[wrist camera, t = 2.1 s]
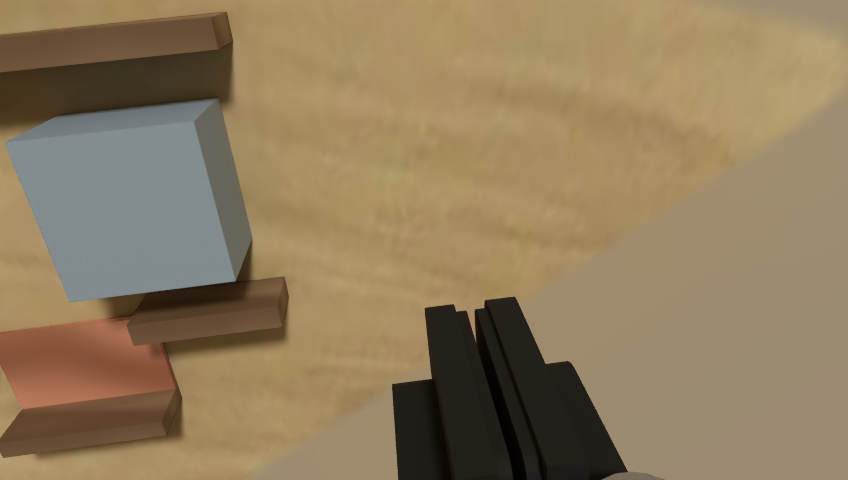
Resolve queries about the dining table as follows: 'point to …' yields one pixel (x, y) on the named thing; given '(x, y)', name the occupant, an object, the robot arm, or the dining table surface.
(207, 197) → the slate block
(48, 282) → the dining table surface
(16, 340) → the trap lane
